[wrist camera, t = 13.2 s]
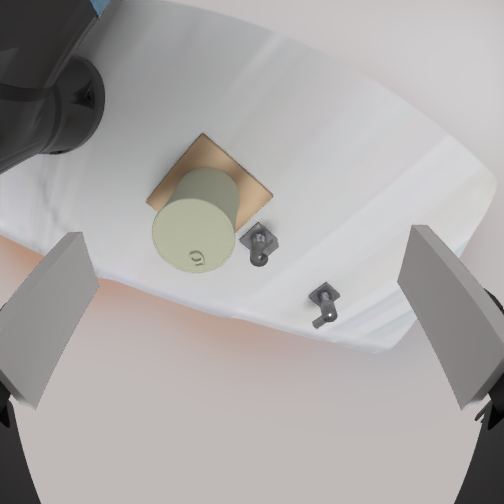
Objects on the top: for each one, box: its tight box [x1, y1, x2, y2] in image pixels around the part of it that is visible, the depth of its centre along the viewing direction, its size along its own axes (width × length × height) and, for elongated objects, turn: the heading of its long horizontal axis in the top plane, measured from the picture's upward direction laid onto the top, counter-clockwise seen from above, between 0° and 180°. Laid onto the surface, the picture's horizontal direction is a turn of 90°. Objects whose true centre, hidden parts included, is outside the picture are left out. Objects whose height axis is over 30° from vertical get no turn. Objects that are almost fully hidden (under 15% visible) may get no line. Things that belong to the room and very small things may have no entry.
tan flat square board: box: [146, 134, 273, 233], centre depth 42 cm, size 13×13×1 cm
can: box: [152, 167, 240, 273], centre depth 37 cm, size 9×9×12 cm
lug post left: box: [240, 222, 279, 267], centre depth 43 cm, size 4×5×6 cm
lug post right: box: [309, 283, 340, 329], centre depth 49 cm, size 4×5×6 cm
